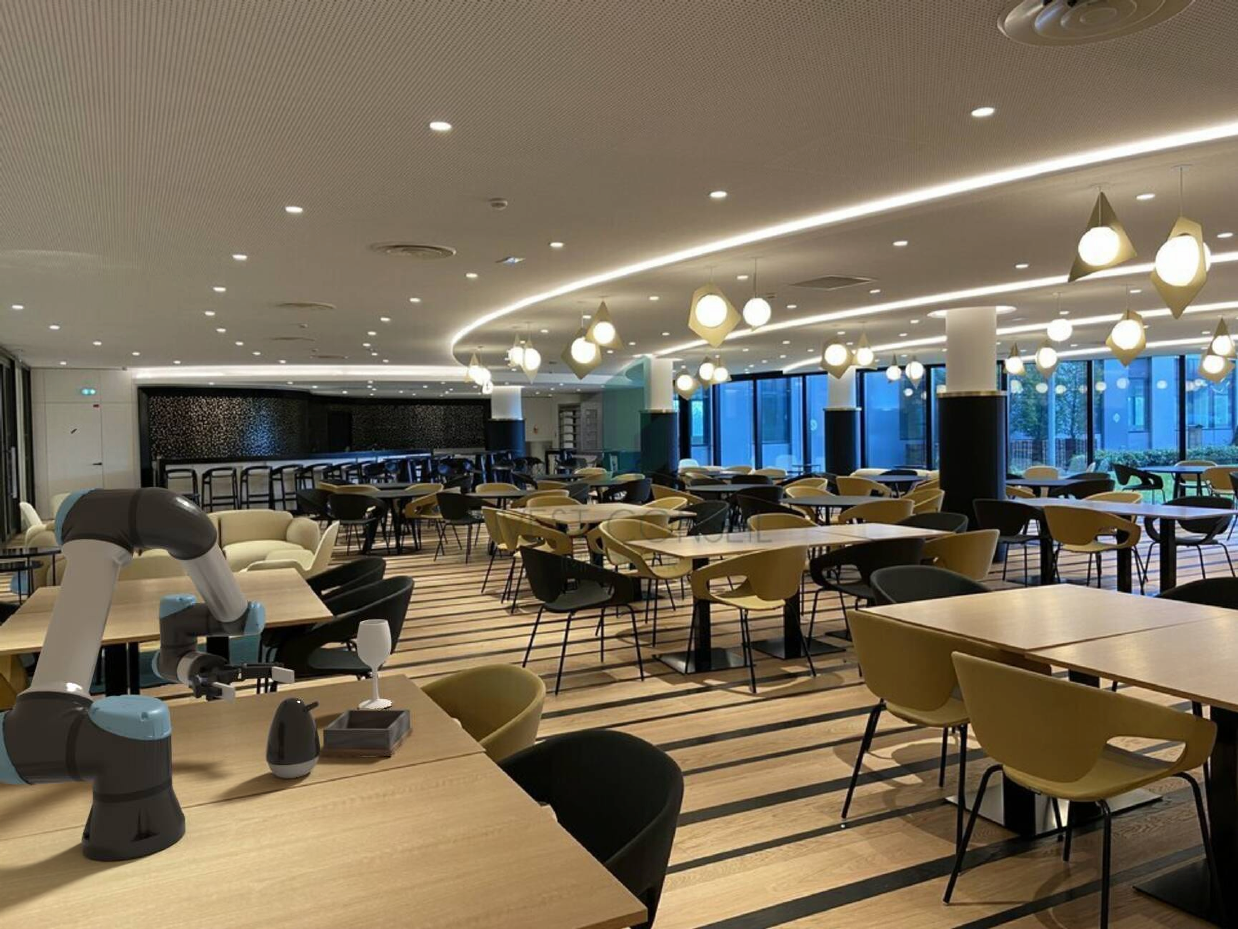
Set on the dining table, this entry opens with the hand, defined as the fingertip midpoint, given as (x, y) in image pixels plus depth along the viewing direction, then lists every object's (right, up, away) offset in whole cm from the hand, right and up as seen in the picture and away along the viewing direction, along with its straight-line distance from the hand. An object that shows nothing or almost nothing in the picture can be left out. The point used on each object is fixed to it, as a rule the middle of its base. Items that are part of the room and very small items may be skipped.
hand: (264, 685), depth 184 cm
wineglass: (+12, -15, +39) cm, 44 cm away
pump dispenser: (+8, -16, -6) cm, 19 cm away
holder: (+18, -15, +11) cm, 26 cm away
